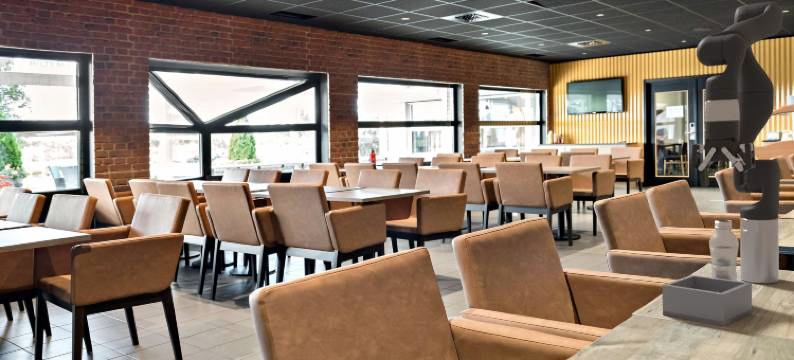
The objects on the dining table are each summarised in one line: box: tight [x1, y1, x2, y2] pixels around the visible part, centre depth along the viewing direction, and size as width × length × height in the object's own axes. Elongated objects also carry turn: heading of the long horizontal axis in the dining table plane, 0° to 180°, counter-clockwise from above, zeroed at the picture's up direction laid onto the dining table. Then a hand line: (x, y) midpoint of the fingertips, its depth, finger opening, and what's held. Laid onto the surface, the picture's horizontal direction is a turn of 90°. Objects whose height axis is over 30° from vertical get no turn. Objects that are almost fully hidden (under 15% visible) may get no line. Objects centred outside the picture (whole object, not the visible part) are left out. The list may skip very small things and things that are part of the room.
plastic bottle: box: [708, 219, 740, 281], centre depth 164 cm, size 6×7×20 cm
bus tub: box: [661, 274, 753, 327], centre depth 154 cm, size 14×14×7 cm
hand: (722, 186), depth 163 cm, fingers open, 8 cm apart
